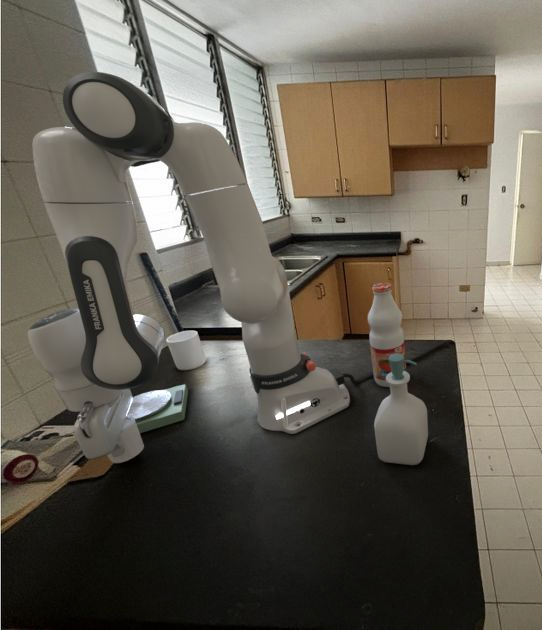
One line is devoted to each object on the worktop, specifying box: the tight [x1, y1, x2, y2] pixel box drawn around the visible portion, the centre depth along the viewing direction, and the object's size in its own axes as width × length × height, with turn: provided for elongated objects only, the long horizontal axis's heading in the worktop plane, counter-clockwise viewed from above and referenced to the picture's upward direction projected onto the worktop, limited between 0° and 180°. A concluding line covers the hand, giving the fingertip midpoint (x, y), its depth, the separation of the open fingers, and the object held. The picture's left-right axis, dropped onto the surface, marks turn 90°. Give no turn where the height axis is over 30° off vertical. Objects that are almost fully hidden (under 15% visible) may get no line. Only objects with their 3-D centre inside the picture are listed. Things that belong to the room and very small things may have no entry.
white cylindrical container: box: [106, 416, 145, 464], centre depth 70 cm, size 7×7×7 cm
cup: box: [165, 330, 207, 371], centre depth 107 cm, size 8×12×10 cm
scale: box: [135, 383, 189, 434], centre depth 85 cm, size 16×14×3 cm
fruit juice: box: [367, 282, 408, 388], centre depth 90 cm, size 9×9×28 cm
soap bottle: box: [373, 354, 429, 466], centre depth 66 cm, size 10×10×23 cm
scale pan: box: [127, 389, 172, 421], centre depth 84 cm, size 12×12×1 cm
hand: (123, 444), depth 71 cm, fingers closed on white cylindrical container, 5 cm apart
